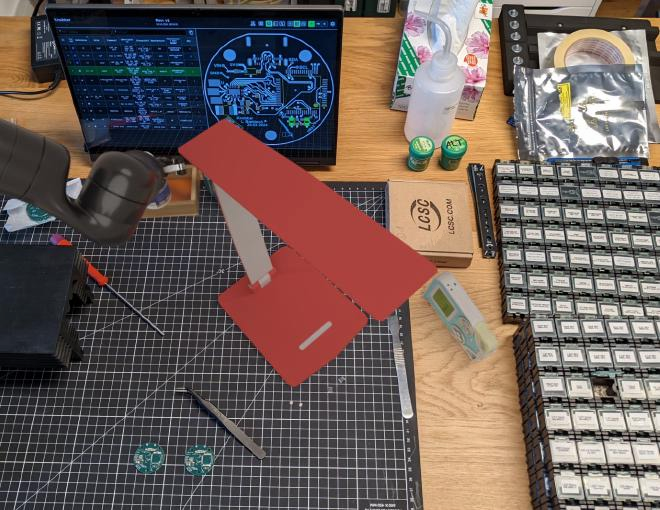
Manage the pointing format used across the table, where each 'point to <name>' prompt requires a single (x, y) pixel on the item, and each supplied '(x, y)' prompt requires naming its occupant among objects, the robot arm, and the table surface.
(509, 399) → the table surface
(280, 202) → the desk lamp
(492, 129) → the table surface
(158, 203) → the pill bottle
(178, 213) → the wooden box
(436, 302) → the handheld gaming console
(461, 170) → the table surface
